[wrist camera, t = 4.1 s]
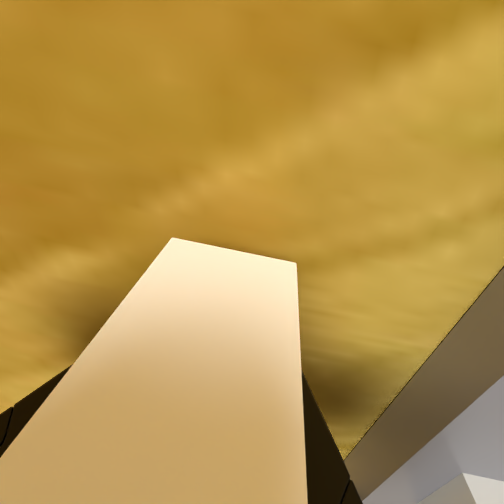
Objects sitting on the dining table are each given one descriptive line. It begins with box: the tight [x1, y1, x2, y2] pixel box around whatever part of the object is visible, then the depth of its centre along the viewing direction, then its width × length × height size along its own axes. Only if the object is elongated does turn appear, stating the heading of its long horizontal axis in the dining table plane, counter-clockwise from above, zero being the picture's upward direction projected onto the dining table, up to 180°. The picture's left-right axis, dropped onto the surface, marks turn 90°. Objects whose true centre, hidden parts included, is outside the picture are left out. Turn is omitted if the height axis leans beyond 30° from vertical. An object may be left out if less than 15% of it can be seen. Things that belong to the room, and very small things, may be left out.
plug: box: [0, 238, 308, 504], centre depth 7 cm, size 5×4×7 cm
